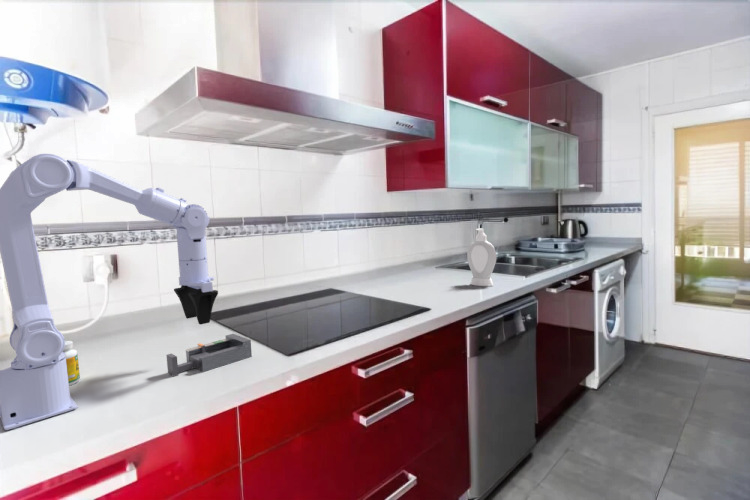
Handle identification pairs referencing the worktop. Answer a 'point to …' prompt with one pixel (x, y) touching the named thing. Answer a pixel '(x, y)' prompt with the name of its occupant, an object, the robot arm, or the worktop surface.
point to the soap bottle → (481, 260)
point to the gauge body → (222, 352)
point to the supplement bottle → (71, 363)
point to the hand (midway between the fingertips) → (197, 320)
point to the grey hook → (194, 363)
